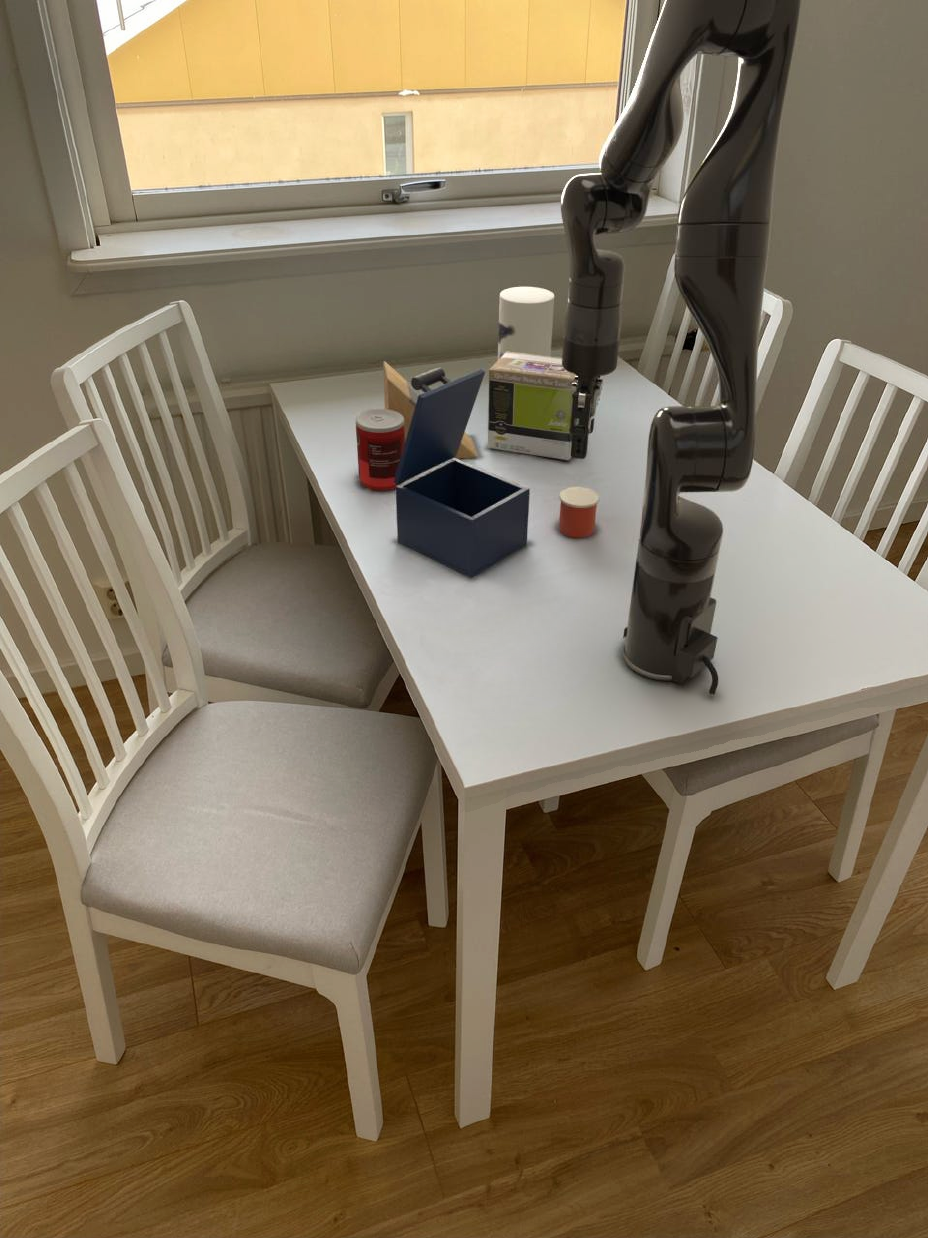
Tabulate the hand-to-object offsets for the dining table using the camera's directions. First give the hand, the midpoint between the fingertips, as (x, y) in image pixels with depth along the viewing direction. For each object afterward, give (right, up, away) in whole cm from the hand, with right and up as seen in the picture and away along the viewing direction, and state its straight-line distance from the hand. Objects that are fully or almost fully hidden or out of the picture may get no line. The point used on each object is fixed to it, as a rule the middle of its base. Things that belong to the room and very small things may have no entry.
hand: (582, 444), depth 139 cm
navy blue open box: (-17, -14, +4) cm, 23 cm away
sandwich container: (-23, +4, +30) cm, 38 cm away
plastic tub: (0, -11, +8) cm, 14 cm away
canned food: (-30, -2, +20) cm, 37 cm away
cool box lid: (-20, +2, -3) cm, 21 cm away
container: (-6, +18, +49) cm, 53 cm away
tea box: (-4, +6, +32) cm, 33 cm away
